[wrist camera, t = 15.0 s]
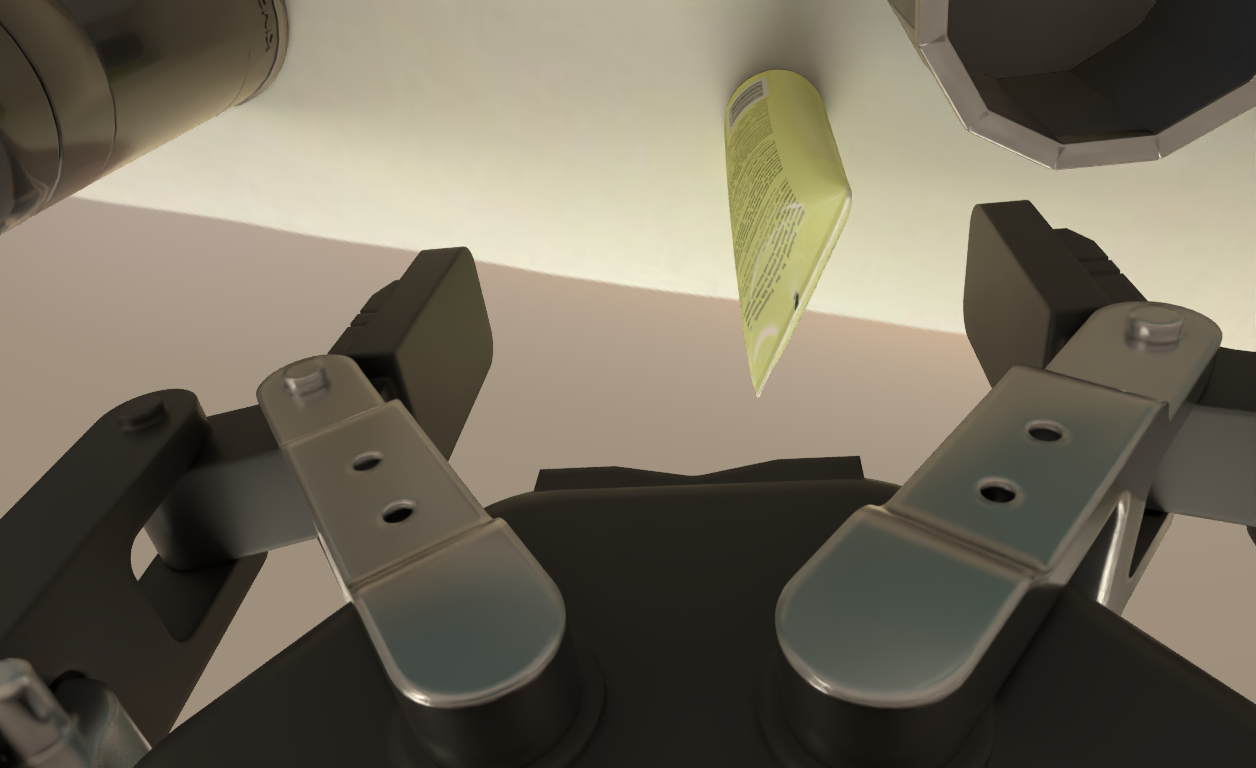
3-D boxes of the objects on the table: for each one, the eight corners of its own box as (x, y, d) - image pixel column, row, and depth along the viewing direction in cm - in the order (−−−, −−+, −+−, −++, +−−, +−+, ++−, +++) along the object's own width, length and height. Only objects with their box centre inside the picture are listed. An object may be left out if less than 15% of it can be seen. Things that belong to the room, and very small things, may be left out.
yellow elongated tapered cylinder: (842, 155, 43) (907, 353, 27) (748, 193, 45) (755, 401, 29) (805, 48, 41) (852, 195, 24) (706, 92, 42) (688, 257, 26)
